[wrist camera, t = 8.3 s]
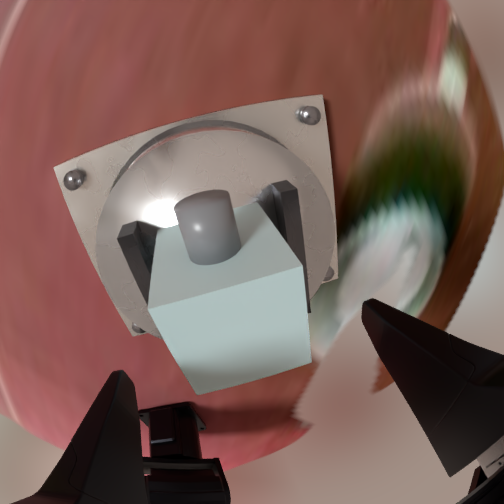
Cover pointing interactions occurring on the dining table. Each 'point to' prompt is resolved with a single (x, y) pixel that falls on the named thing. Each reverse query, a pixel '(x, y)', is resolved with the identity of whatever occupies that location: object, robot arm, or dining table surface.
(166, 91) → the dining table surface
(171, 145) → the metal mounting base
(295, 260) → the block with peg
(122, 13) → the dining table surface
